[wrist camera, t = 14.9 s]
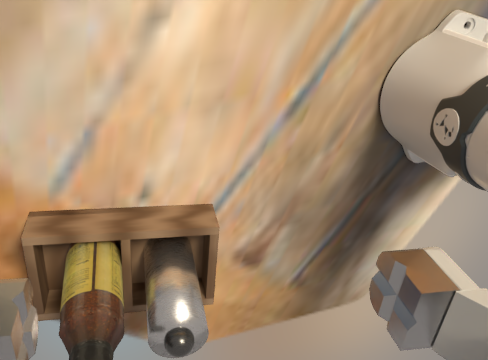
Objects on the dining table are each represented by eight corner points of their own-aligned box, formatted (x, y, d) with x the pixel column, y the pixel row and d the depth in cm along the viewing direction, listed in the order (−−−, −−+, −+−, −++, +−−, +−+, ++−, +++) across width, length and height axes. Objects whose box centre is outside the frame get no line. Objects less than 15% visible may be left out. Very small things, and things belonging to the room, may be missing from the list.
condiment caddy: (212, 204, 56) (219, 227, 52) (207, 277, 62) (213, 304, 58) (29, 211, 52) (21, 238, 47) (42, 291, 57) (36, 321, 53)
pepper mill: (192, 229, 56) (213, 328, 43) (190, 267, 59) (209, 370, 46) (143, 232, 55) (148, 335, 42) (143, 270, 58) (149, 378, 44)
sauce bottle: (66, 268, 55) (40, 422, 38) (69, 226, 52) (42, 372, 36) (121, 270, 57) (120, 417, 40) (127, 230, 54) (128, 370, 38)
